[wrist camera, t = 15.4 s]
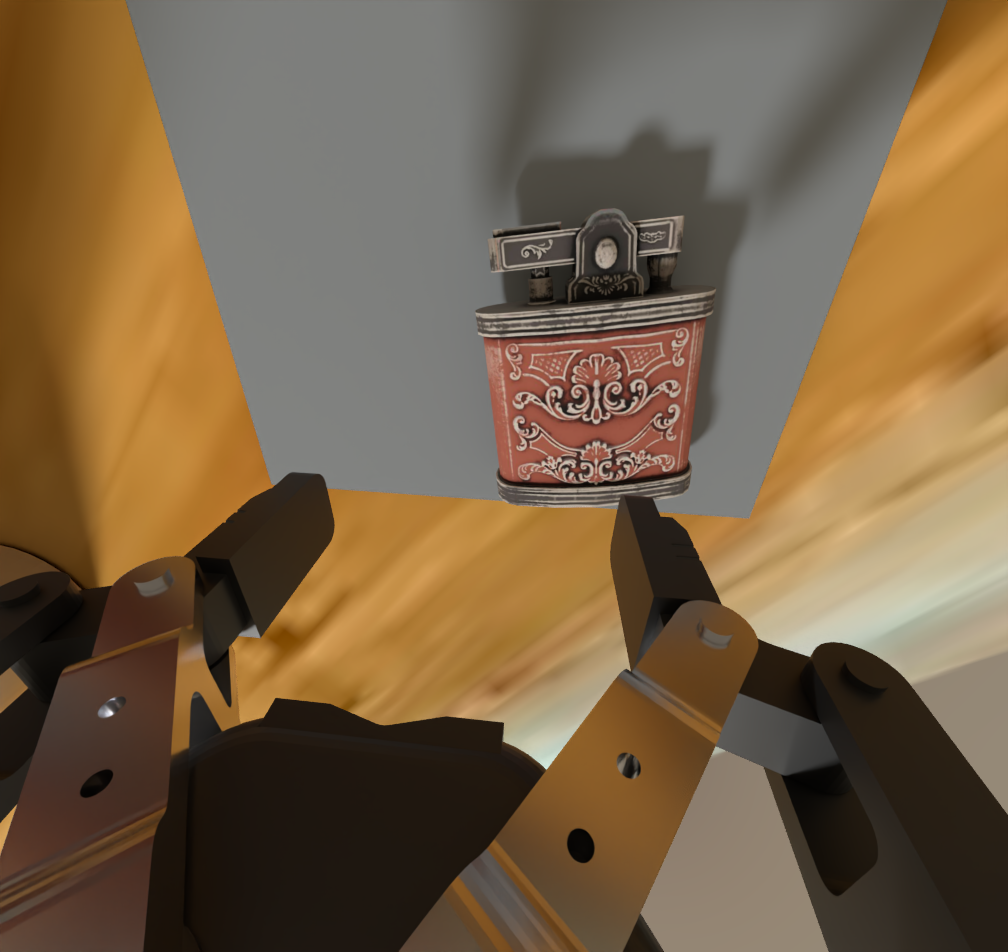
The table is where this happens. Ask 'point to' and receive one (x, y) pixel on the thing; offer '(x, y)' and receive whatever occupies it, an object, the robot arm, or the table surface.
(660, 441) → the lighter
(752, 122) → the mat
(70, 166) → the table surface
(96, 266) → the table surface
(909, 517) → the table surface
